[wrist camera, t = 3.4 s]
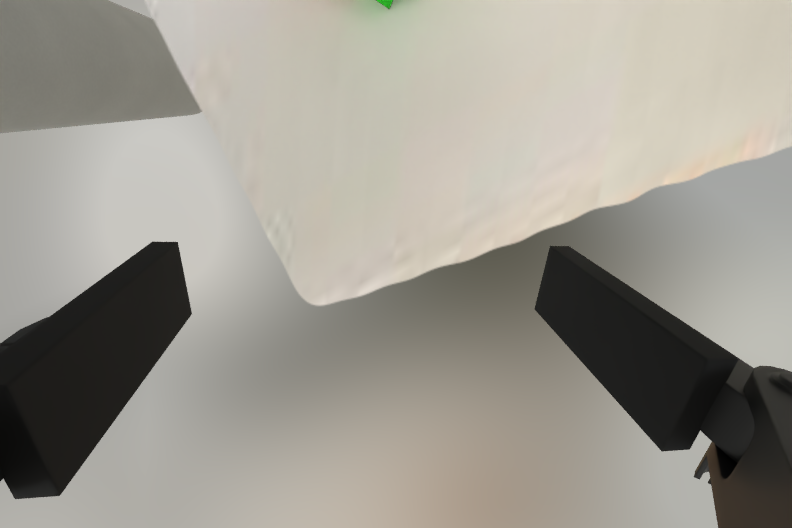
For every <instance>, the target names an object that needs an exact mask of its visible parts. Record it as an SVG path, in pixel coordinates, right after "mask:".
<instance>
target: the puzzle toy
mask: <svg viewBox="0 0 792 528" xmlns="http://www.w3.org/2000/svg"><path fill="white" fill-rule="evenodd" d="M376 1H378V2H379V3H381V4H382V5H384V6H385V7H387V8H388V9H389V8H390V6H391V4H392V2H393V0H376Z"/></svg>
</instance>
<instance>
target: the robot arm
mask: <svg viewBox="0 0 792 528" xmlns="http://www.w3.org/2000/svg"><path fill="white" fill-rule="evenodd" d="M535 310H536V311H537V312H538V314H539V315H540V316H541V317H542V318H543V319H544V320H545V321H546V322H547V324H548V325H549V326H550V327H551V328H552V329H553V330H554V331H555V332H556V334H557V335H558V336H559V337H560V338H561V339H562V340H563V341H564V343H565V344H567V346H568V347H569V348H570V349H571V350H572V351H573V352H574V354H575V355H576V356H577V357H578V358H579V359H580V360H581V362H582V363H583V364H584V365H585V366H586V367H587V368H588V369H589V370H590V372H591V373H592V374H593V375H594V376H595V377H596V378H597V379H598V380H599V382H600V383H601V384H602V385H603V386H604V387H605V388H606V389H607V391H608V392H609V393H610V394H611V395H612V396H613V397H614V398H615V399H616V401H617V402H618V403H619V404H620V405H621V406H622V407H623V408H624V410H625V411H627V413H628V414H629V415H630V416H631V417H632V418H633V419H634V421H635V422H636V423H637V424H638V425H639V426H640V427H641V429H642V430H643V431H644V432H645V433H646V434H647V435H648V436H649V437H650V439H651V440H652V441H653V442H654V443H655V444H656V445H657V446H658V448H659V449H660V450H661V451H673V450H687V449H690V448H691V446H692V444H693V442H694V440H695V439H696V437H697V435H698V433H699V431H700V430H701V431H702V432H703V433H704V434H705V435H706V436H707V437H708V438H709V439H710V440H711V441H712V443H711V444H710V446H709V448H708V450H707V451H706V453H705V455H704V457H703V458H702V460H701V462H700V464H699V466H698V467H697V469H696V471H695V475H694V477H695V478H698V479H700V478H701V476H702V474H703V473H705V472H709V473H710V479H709V481H708V483H709V484H711V485H712V491H713V498H714V504H715V510H716V516H717V522H718V528H792V372H790V371H787V370H784V369H780V368H775V367H771V366H759V367H756V368H753V367H751V366H749V365H748V364H746V363H745V362H743V361H742V360H740V359H739V358H737V357H736V356H734V355H733V354H731V353H730V352H728V351H727V350H725V349H724V348H722V347H721V346H719V345H718V344H716V343H715V342H713V341H712V340H710V339H709V338H707V337H705V336H704V335H702V334H701V333H700V332H698V331H696V330H695V329H693V328H692V327H690V326H689V325H687V324H686V323H684V322H683V321H681V320H680V319H678V318H677V317H675V316H673V315H672V314H670V313H669V312H667V311H666V310H664V309H663V308H661V307H660V306H658V305H657V304H655V303H654V302H652V301H650V300H649V299H648V298H646V297H645V296H643V295H642V294H640V293H639V292H637V291H636V290H634V289H633V288H631V287H630V286H628V285H627V284H625V283H623V282H622V281H620V280H619V279H618V278H616V277H614V276H613V275H611V274H610V273H608V272H607V271H605V270H604V269H602V268H601V267H599V266H598V265H596V264H595V263H593V262H592V261H590V260H589V259H587V258H586V257H584V256H583V255H581V254H580V253H578V252H577V251H575V250H574V249H572V248H571V247H569V246H550V249H549V253H548V257H547V261H546V265H545V269H544V273H543V277H542V281H541V285H540V289H539V293H538V297H537V301H536V306H535ZM191 314H192V313H191V308H190V302H189V297H188V292H187V287H186V282H185V277H184V272H183V267H182V262H181V257H180V252H179V247H178V242H152V243H150V244H149V245H147V246H146V247H145V248H143V249H142V250H140V251H139V252H138V253H136V254H135V255H134V256H132V257H131V258H130V259H128V260H127V261H125V262H124V263H123V264H121V265H120V266H119V267H117V268H116V269H114V270H113V271H112V272H110V273H109V274H108V275H106V276H105V277H104V278H102V279H101V280H99V281H98V282H97V283H95V284H94V285H93V286H91V287H90V288H88V289H87V290H86V291H84V292H83V293H82V294H80V295H79V296H77V297H76V298H75V299H73V300H72V301H71V302H69V303H68V304H66V305H65V306H64V307H62V308H61V309H60V310H58V311H57V312H56V313H54V314H53V315H51V316H50V317H47V318H44V319H42V320H40V321H38V322H36V323H33V324H31V325H29V326H27V327H25V328H23V329H20V330H19V331H18V332H16V333H15V334H13V335H12V336H10V337H9V338H8V339H6V340H5V341H4V342H2V343H0V481H1V480H2V479H3V478H4V480H5V482H6V484H7V485H8V487H9V489H10V491H11V493H12V494H13V496H14V498H15V499H22V498H36V497H48V496H60V494H61V493H62V492H63V491H64V489H65V488H66V486H67V485H68V483H69V482H70V481H71V479H72V478H73V476H74V475H75V474H76V473H77V471H78V470H79V468H80V467H81V466H82V464H83V463H84V461H85V460H86V459H87V457H88V456H89V455H90V453H91V452H92V450H93V449H94V448H95V446H96V445H97V443H98V442H99V441H100V440H101V438H102V437H103V435H104V434H105V433H106V431H107V430H108V428H109V427H110V426H111V424H112V423H113V422H114V420H115V419H116V417H117V416H118V415H119V413H120V412H121V411H122V409H123V408H124V406H125V405H126V404H127V402H128V401H129V400H130V398H131V397H132V396H133V394H134V393H135V391H136V390H137V389H138V387H139V386H140V384H141V383H142V382H143V380H144V379H145V378H146V376H147V375H148V373H149V372H150V371H151V369H152V368H153V367H154V365H155V364H156V362H157V361H158V360H159V358H160V357H161V356H162V354H163V353H164V351H165V350H166V348H167V347H168V346H169V344H170V343H171V342H172V340H173V339H174V338H175V336H176V335H177V333H178V332H179V331H180V329H181V328H182V327H183V325H184V324H185V322H186V321H187V320H188V318H189V317H190V316H191Z"/></svg>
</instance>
